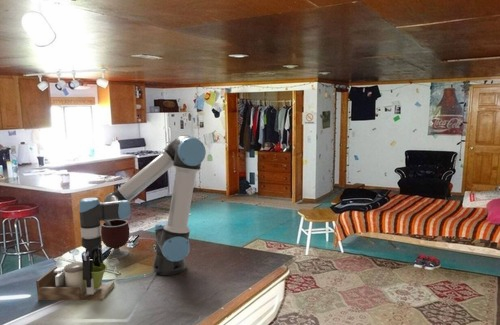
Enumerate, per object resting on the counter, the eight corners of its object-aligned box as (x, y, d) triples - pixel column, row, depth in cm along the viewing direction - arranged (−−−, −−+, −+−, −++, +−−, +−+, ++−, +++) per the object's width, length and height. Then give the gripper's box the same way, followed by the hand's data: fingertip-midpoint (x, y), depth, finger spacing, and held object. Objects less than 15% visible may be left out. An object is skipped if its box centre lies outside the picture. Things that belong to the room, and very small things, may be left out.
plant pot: (95, 294, 159) (98, 274, 158) (75, 288, 161) (77, 268, 159) (108, 284, 168) (111, 265, 167) (88, 278, 170) (91, 259, 169)
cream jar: (90, 286, 170) (89, 262, 168) (82, 296, 162) (80, 270, 160) (71, 286, 170) (70, 262, 168) (62, 295, 162) (60, 270, 160)
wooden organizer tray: (115, 286, 172) (114, 267, 170) (102, 302, 158) (100, 281, 157) (56, 286, 173) (54, 266, 172) (38, 302, 159) (36, 280, 158)
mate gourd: (135, 251, 213) (133, 215, 210) (119, 260, 200) (117, 222, 197) (111, 248, 218) (109, 212, 215) (94, 257, 205) (91, 219, 202)
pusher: (73, 284, 171) (71, 263, 170) (59, 297, 160) (57, 274, 158) (65, 284, 171) (63, 263, 170) (50, 297, 160) (48, 274, 158)
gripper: (92, 228, 171) (96, 278, 175) (70, 244, 151) (74, 301, 155) (110, 228, 171) (112, 278, 175) (89, 244, 151) (93, 301, 154)
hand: (94, 289), depth 165 cm, fingers closed on plant pot, 7 cm apart
